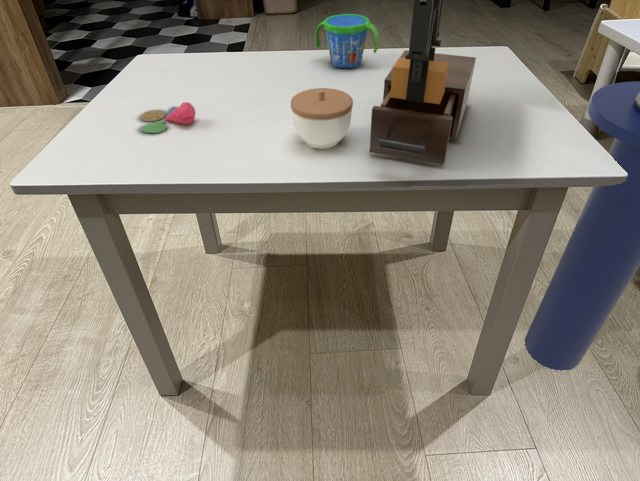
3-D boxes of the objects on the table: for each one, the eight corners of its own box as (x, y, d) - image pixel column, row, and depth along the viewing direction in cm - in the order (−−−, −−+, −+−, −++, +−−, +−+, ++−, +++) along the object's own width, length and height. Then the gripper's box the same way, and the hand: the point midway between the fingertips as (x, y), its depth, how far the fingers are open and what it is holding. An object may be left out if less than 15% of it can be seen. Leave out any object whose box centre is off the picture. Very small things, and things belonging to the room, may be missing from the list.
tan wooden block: (444, 93, 75) (449, 62, 71) (439, 104, 71) (445, 72, 68) (396, 86, 77) (399, 56, 73) (389, 97, 74) (392, 66, 70)
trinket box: (330, 121, 89) (330, 74, 82) (363, 144, 82) (365, 94, 76) (282, 137, 84) (278, 87, 78) (312, 162, 78) (311, 110, 71)
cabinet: (455, 142, 82) (465, 89, 75) (380, 130, 86) (384, 79, 79) (466, 106, 93) (476, 57, 86) (400, 97, 97) (404, 50, 90)
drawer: (437, 183, 70) (445, 137, 65) (359, 169, 74) (361, 124, 69) (456, 125, 84) (464, 83, 79) (390, 115, 88) (393, 75, 83)
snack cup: (307, 66, 111) (306, 22, 105) (327, 52, 118) (326, 10, 112) (366, 76, 106) (369, 30, 99) (383, 61, 113) (386, 17, 106)
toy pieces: (204, 107, 95) (200, 87, 92) (192, 133, 86) (187, 111, 83) (147, 108, 95) (141, 88, 92) (130, 134, 87) (123, 112, 84)
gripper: (461, -71, 51) (431, 120, 67) (478, -88, 64) (449, 77, 79) (396, -73, 53) (381, 113, 69) (424, -89, 66) (407, 72, 81)
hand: (418, 93), depth 74 cm, fingers closed on tan wooden block, 4 cm apart
